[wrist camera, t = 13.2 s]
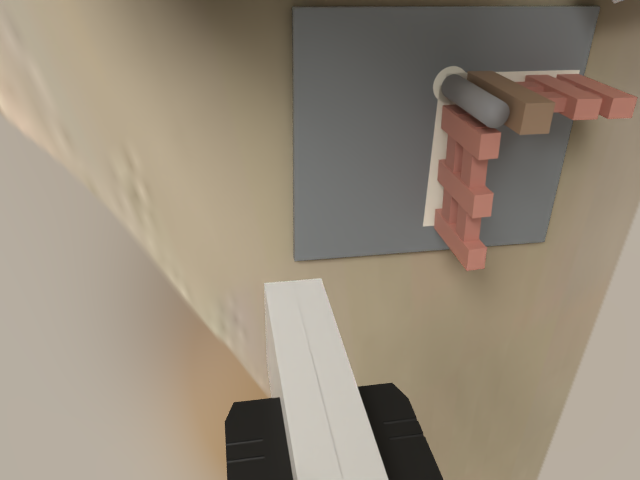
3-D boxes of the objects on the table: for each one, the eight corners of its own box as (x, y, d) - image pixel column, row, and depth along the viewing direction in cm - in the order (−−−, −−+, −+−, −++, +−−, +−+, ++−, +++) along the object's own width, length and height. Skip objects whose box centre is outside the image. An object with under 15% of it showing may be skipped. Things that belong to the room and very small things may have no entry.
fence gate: (442, 75, 42) (484, 101, 36) (465, 73, 42) (511, 99, 36) (431, 229, 49) (466, 275, 42) (451, 226, 49) (489, 271, 42)
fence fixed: (463, 97, 44) (519, 134, 36) (467, 71, 43) (525, 103, 35) (570, 94, 45) (646, 129, 38) (576, 68, 44) (655, 99, 37)
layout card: (292, 6, 39) (293, 7, 38) (595, 5, 43) (600, 6, 42) (293, 257, 49) (294, 261, 48) (541, 238, 52) (544, 242, 52)
